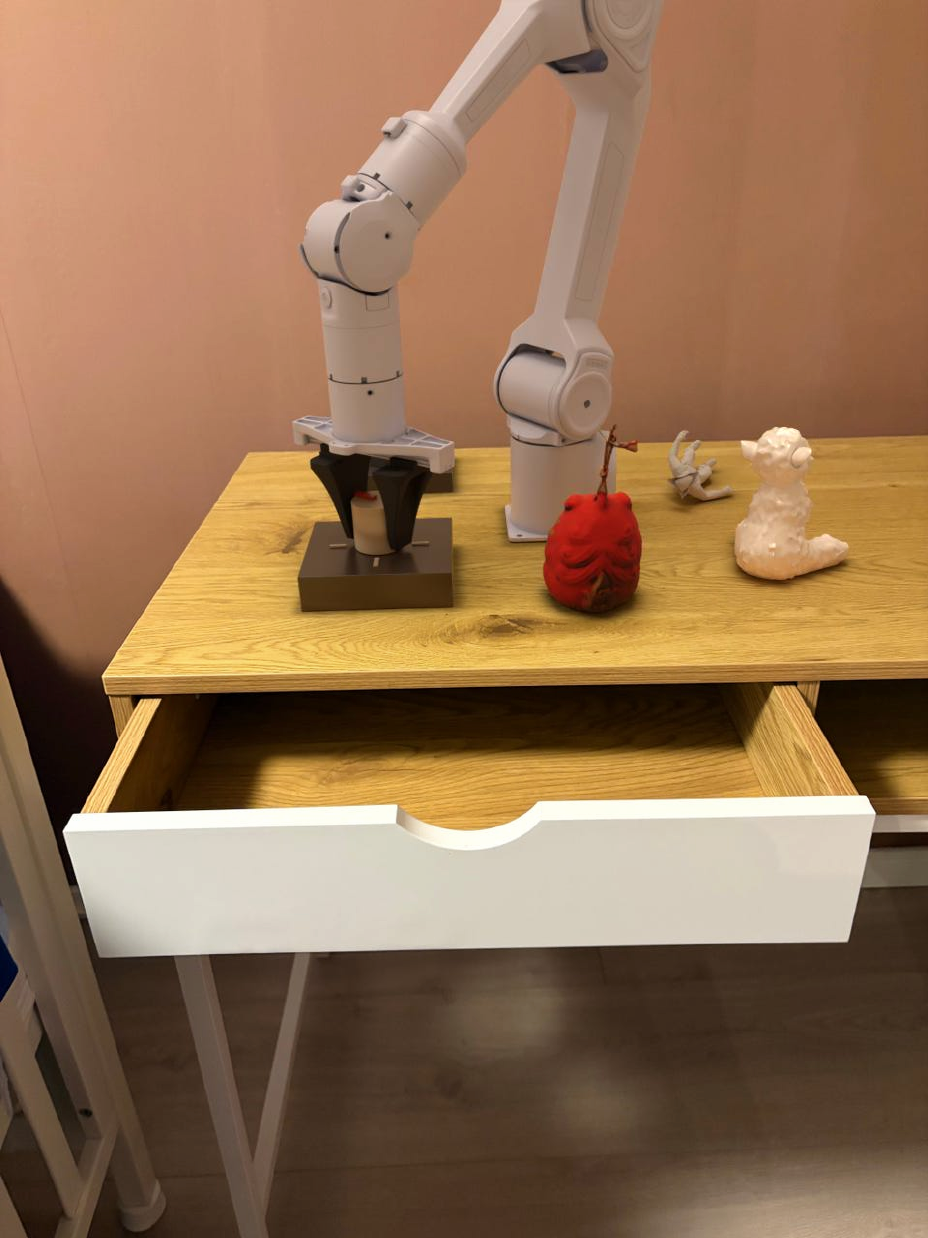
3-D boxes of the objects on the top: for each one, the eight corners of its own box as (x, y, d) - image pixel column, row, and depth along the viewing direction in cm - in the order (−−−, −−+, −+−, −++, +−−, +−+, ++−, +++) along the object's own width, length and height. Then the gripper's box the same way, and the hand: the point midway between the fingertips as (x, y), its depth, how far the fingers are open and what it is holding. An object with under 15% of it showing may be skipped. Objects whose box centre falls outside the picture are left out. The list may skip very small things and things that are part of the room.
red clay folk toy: (624, 575, 78) (635, 396, 71) (652, 615, 72) (667, 424, 65) (535, 584, 77) (536, 404, 70) (555, 625, 71) (559, 432, 64)
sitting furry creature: (849, 560, 79) (875, 421, 73) (812, 600, 73) (837, 452, 67) (742, 535, 84) (758, 403, 79) (699, 569, 78) (713, 430, 73)
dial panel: (453, 548, 84) (451, 515, 82) (453, 606, 74) (451, 570, 73) (318, 552, 84) (315, 519, 82) (301, 611, 74) (296, 575, 73)
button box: (452, 460, 104) (451, 424, 102) (452, 493, 96) (451, 455, 94) (345, 463, 104) (341, 428, 102) (335, 496, 96) (331, 459, 94)
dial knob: (413, 540, 78) (410, 492, 76) (384, 558, 75) (380, 508, 73) (374, 531, 80) (370, 483, 78) (345, 548, 77) (340, 499, 75)
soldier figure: (736, 483, 98) (743, 488, 87) (698, 513, 100) (701, 522, 88) (687, 426, 98) (689, 423, 87) (651, 457, 100) (647, 459, 88)
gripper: (257, 375, 71) (279, 539, 78) (412, 399, 64) (422, 578, 71) (318, 355, 76) (334, 510, 83) (468, 376, 69) (472, 544, 76)
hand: (378, 539), depth 77 cm, fingers closed on dial knob, 4 cm apart
